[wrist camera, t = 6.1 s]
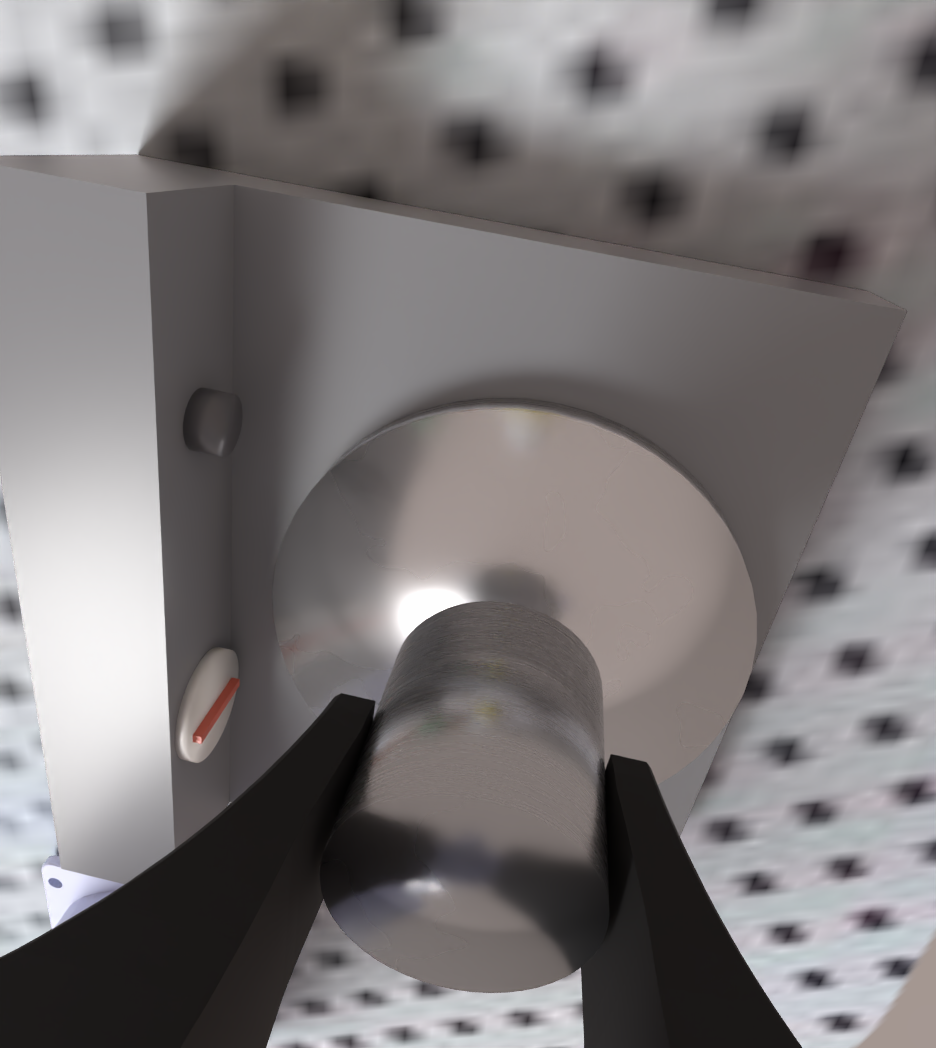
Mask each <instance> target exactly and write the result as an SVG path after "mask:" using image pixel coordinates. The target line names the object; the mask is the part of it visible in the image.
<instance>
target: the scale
mask: <svg viewBox="0 0 936 1048" xmlns="http://www.w3.org/2000/svg"><path fill="white" fill-rule="evenodd" d="M906 313H907V310H905V309H903V308H901V307H899V306H897V305H895V304H893V303H891V302H889V301H887V300H885V299H883V298H881V297H879V296H877V295H875V294H873V293H871V292H869V291H864V290H859V289H854V288H848V287H843V286H838V285H832V284H827V283H821V282H816V281H811V280H805V279H800V278H795V277H789V276H784V275H779V274H773V273H768V272H763V271H757V270H752V269H746V268H741V267H736V266H730V265H725V264H720V263H714V262H709V261H704V260H698V259H693V258H688V257H682V256H677V255H671V254H666V253H661V252H655V251H650V250H645V249H639V248H634V247H629V246H623V245H618V244H613V243H607V242H602V241H596V240H591V239H586V238H580V237H575V236H570V235H564V234H559V233H554V232H548V231H543V230H538V229H532V228H527V227H521V226H516V225H511V224H505V223H500V222H495V221H489V220H484V219H479V218H473V217H468V216H463V215H457V214H452V213H446V212H441V211H436V210H430V209H425V208H420V207H414V206H409V205H404V204H398V203H393V202H388V201H382V200H377V199H372V198H366V197H361V196H355V195H350V194H345V193H339V192H334V191H329V190H323V189H318V188H313V187H307V186H302V185H297V184H291V183H286V182H280V181H275V180H270V179H264V178H259V177H254V176H248V175H243V174H238V173H232V172H227V171H222V170H216V169H211V168H205V167H200V166H195V165H189V164H184V163H179V162H173V161H168V160H163V159H157V158H152V157H147V156H141V155H136V154H135V155H10V156H0V477H1V484H2V490H3V497H4V503H5V510H6V516H7V523H8V529H9V536H10V542H11V549H12V555H13V561H14V568H15V574H16V581H17V587H18V594H19V600H20V607H21V613H22V620H23V626H24V632H25V639H26V645H27V652H28V658H29V665H30V671H31V678H32V684H33V691H34V697H35V703H36V710H37V716H38V723H39V729H40V736H41V742H42V749H43V755H44V762H45V768H46V774H47V781H48V787H49V794H50V800H51V807H52V813H53V820H54V826H55V833H56V839H57V845H58V852H59V858H60V865H61V869H64V870H68V871H72V872H76V873H80V874H84V875H88V876H92V877H96V878H101V879H105V880H109V881H113V882H117V883H121V884H126V883H127V882H129V881H130V880H132V879H133V878H135V877H136V876H137V875H139V874H140V873H142V872H143V871H145V870H146V869H147V868H149V867H150V866H152V865H153V864H155V863H156V862H158V861H159V860H160V859H162V858H163V857H165V856H166V855H167V854H169V853H170V852H171V851H173V850H174V849H175V848H177V847H178V846H179V845H181V844H182V843H183V842H185V841H186V840H187V839H188V838H190V837H191V836H192V835H194V834H195V833H196V832H197V831H199V830H200V829H201V828H202V827H204V826H205V825H206V824H207V823H209V822H210V821H211V820H212V819H213V818H215V817H216V816H217V815H218V814H219V813H221V812H222V811H223V810H224V809H225V808H226V807H227V805H228V803H229V802H233V801H234V800H235V799H236V798H237V797H239V796H240V795H241V794H242V793H243V792H244V791H245V790H246V789H248V788H249V787H250V786H251V785H252V784H253V783H254V782H255V781H256V780H258V779H259V778H260V777H261V776H262V775H263V774H264V773H265V772H266V771H267V770H268V769H269V768H270V767H271V766H272V765H273V764H274V763H275V762H276V761H277V760H278V759H279V758H280V757H281V756H282V755H283V754H284V753H285V752H286V751H287V750H288V749H289V748H290V747H291V746H292V745H293V744H294V743H295V742H296V741H297V740H298V738H299V737H300V736H301V735H302V734H303V733H304V732H305V731H306V730H307V729H308V728H309V727H310V725H311V724H312V723H313V722H314V721H315V720H316V719H317V716H316V715H315V714H314V713H313V711H312V710H311V709H310V707H309V706H308V704H307V703H306V701H305V700H304V698H303V697H302V695H301V693H300V692H299V690H298V689H297V687H296V685H295V683H294V681H293V679H292V677H291V675H290V673H289V671H288V669H287V667H286V664H285V661H284V658H283V655H282V652H281V649H280V646H279V643H278V639H277V634H276V628H275V623H274V617H273V593H272V590H273V582H274V573H275V565H276V562H277V558H278V555H279V551H280V547H281V544H282V540H283V538H284V536H285V534H286V532H287V530H288V527H289V525H290V523H291V521H292V519H293V517H294V515H295V513H296V512H297V510H298V509H299V507H300V506H301V504H302V503H303V501H304V500H305V498H306V497H307V495H308V494H309V493H310V491H311V490H312V489H313V488H314V486H315V485H316V484H317V483H318V481H319V480H320V479H321V478H322V477H323V475H324V474H325V473H326V472H327V471H328V470H329V469H330V468H331V467H332V466H333V465H334V464H335V463H336V461H337V460H338V459H339V458H340V457H341V456H342V455H344V454H345V453H346V452H347V451H349V450H350V449H351V448H352V447H354V446H355V445H356V444H357V443H359V442H360V441H361V440H362V439H364V438H365V437H367V436H368V435H370V434H372V433H374V432H375V431H377V430H379V429H380V428H382V427H384V426H386V425H387V424H389V423H391V422H393V421H396V420H398V419H400V418H403V417H405V416H408V415H410V414H413V413H415V412H418V411H420V410H423V409H427V408H431V407H435V406H439V405H443V404H447V403H451V402H456V401H465V400H473V399H481V398H525V399H532V400H540V401H547V402H554V403H559V404H563V405H567V406H570V407H574V408H578V409H582V410H585V411H589V412H592V413H595V414H597V415H599V416H602V417H604V418H607V419H609V420H612V421H614V422H617V423H619V424H621V425H624V426H625V427H627V428H629V429H631V430H632V431H634V432H636V433H638V434H639V435H641V436H643V437H645V438H646V439H648V440H650V441H652V442H653V443H655V444H656V445H657V446H658V447H660V448H661V449H662V450H664V451H665V452H666V453H668V454H669V455H670V456H672V457H673V458H674V459H676V460H677V461H678V462H679V463H680V464H681V465H682V466H683V467H684V468H685V469H686V470H687V471H688V472H689V473H690V474H691V475H692V476H693V477H694V478H695V479H696V480H697V481H698V482H699V483H700V484H701V485H702V486H703V487H704V489H705V490H706V491H707V493H708V494H709V495H710V497H711V498H712V499H713V501H714V502H715V503H716V505H717V506H718V508H719V509H720V510H721V512H722V514H723V516H724V518H725V519H726V521H727V523H728V525H729V527H730V529H731V531H732V533H733V535H734V537H735V539H736V541H737V544H738V547H739V549H740V552H741V555H742V557H743V560H744V563H745V566H746V569H747V572H748V575H749V578H750V581H751V584H752V588H753V594H754V600H755V606H756V612H757V644H756V650H755V655H754V661H753V666H754V664H755V662H756V659H757V657H758V655H759V652H760V650H761V648H762V645H763V643H764V641H765V638H766V636H767V634H768V632H769V629H770V627H771V625H772V622H773V620H774V618H775V615H776V613H777V611H778V608H779V606H780V604H781V602H782V599H783V597H784V595H785V592H786V590H787V588H788V585H789V583H790V581H791V578H792V576H793V574H794V571H795V569H796V567H797V565H798V562H799V560H800V558H801V555H802V553H803V551H804V548H805V546H806V544H807V541H808V539H809V537H810V534H811V532H812V530H813V528H814V525H815V523H816V521H817V518H818V516H819V514H820V511H821V509H822V507H823V504H824V502H825V500H826V497H827V495H828V493H829V491H830V488H831V486H832V484H833V481H834V479H835V477H836V474H837V472H838V470H839V467H840V465H841V463H842V460H843V458H844V456H845V454H846V451H847V449H848V447H849V444H850V442H851V440H852V437H853V435H854V433H855V430H856V428H857V426H858V424H859V421H860V419H861V417H862V414H863V412H864V410H865V407H866V405H867V403H868V400H869V398H870V396H871V393H872V391H873V389H874V387H875V384H876V382H877V380H878V377H879V375H880V373H881V370H882V368H883V366H884V363H885V361H886V359H887V356H888V354H889V352H890V350H891V347H892V345H893V343H894V340H895V338H896V336H897V333H898V331H899V329H900V326H901V324H902V322H903V319H904V317H905V315H906ZM752 669H753V667H752ZM730 719H731V718H730ZM729 722H730V720H729V721H728V722H727V724H726V725H725V726H724V728H723V729H722V731H721V732H720V733H719V735H718V736H717V737H716V739H715V740H714V741H713V742H712V743H711V744H710V745H709V746H708V747H707V748H706V749H705V750H704V751H703V752H702V753H701V754H700V755H699V756H698V757H697V758H696V759H694V760H693V761H692V762H690V763H689V764H688V765H687V766H685V767H684V768H683V769H681V770H680V771H679V772H677V773H676V774H675V775H673V776H671V777H670V778H668V779H666V780H664V781H663V782H661V783H659V784H658V787H659V790H660V792H661V795H662V797H663V799H664V802H665V804H666V807H667V809H668V811H669V814H670V816H671V818H672V820H673V823H674V825H675V827H676V829H677V832H678V834H679V836H680V835H681V833H682V830H683V828H684V826H685V823H686V821H687V819H688V817H689V814H690V812H691V810H692V807H693V805H694V803H695V800H696V798H697V796H698V793H699V791H700V789H701V786H702V784H703V782H704V780H705V777H706V775H707V773H708V770H709V768H710V766H711V763H712V761H713V759H714V756H715V754H716V752H717V749H718V747H719V745H720V743H721V740H722V738H723V736H724V733H725V731H726V729H727V726H728V724H729Z"/></svg>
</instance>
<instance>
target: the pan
mask: <svg viewBox="0 0 936 1048" xmlns="http://www.w3.org/2000/svg"><path fill="white" fill-rule="evenodd" d="M272 593H273V617H274V623H275V628H276V634H277V639H278V643H279V646H280V649H281V652H282V655H283V658H284V661H285V664H286V667H287V669H288V671H289V673H290V675H291V677H292V679H293V681H294V683H295V685H296V687H297V689H298V690H299V692H300V693H301V695H302V697H303V698H304V700H305V701H306V703H307V704H308V706H309V707H310V709H311V710H312V711H313V713H314V714H315V715H316V716H317V717H318V716H319V715H320V714H321V713H322V712H323V710H324V709H325V708H326V707H327V706H328V704H329V703H330V702H331V700H332V699H333V698H334V697H335V696H337V695H339V694H341V693H343V694H348V695H352V696H357V697H361V698H365V699H370V700H374V701H376V702H375V710H374V716H375V714H376V711H377V708H378V706H379V703H380V700H381V698H382V695H383V692H384V690H385V687H386V684H387V682H388V679H389V676H390V674H391V671H392V668H393V666H394V663H395V660H396V657H397V655H398V653H399V650H400V648H401V646H402V644H403V643H404V641H405V639H406V638H407V636H408V635H409V634H410V633H411V632H412V631H413V630H414V628H415V627H416V626H418V625H419V624H420V623H421V622H423V621H424V620H425V619H427V618H428V617H430V616H432V615H433V614H435V613H437V612H439V611H442V610H444V609H446V608H449V607H452V606H456V605H459V604H463V603H470V602H478V601H498V602H507V603H513V604H518V605H522V606H525V607H529V608H532V609H535V610H537V611H539V612H542V613H544V614H546V615H548V616H550V617H552V618H554V619H555V620H557V621H559V622H560V623H562V624H563V625H564V626H566V627H567V628H568V629H570V630H571V631H572V632H573V633H574V634H575V635H576V636H577V637H578V638H579V639H580V640H581V641H582V642H583V643H584V645H585V646H586V647H587V648H588V650H589V651H590V653H591V655H592V656H593V658H594V660H595V662H596V664H597V667H598V669H599V672H600V676H601V680H602V689H603V716H604V749H605V769H606V766H607V764H608V761H609V758H610V755H611V754H613V755H618V756H622V757H627V758H631V759H636V760H640V761H644V762H647V763H648V764H649V766H650V767H651V769H652V772H653V774H654V777H655V780H656V782H657V785H658V784H659V783H661V782H663V781H664V780H666V779H668V778H670V777H671V776H673V775H675V774H676V773H677V772H679V771H680V770H681V769H683V768H684V767H685V766H687V765H688V764H689V763H690V762H692V761H693V760H694V759H696V758H697V757H698V756H699V755H700V754H701V753H702V752H703V751H704V750H705V749H706V748H707V747H708V746H709V745H710V744H711V743H712V742H713V741H714V740H715V739H716V737H717V736H718V735H719V733H720V732H721V731H722V729H723V728H724V726H725V725H726V724H727V722H728V721H729V720H730V718H731V717H732V715H733V713H734V711H735V709H736V707H737V706H738V704H739V702H740V700H741V698H742V696H743V694H744V691H745V688H746V686H747V683H748V680H749V677H750V674H751V671H752V667H753V661H754V655H755V650H756V644H757V612H756V606H755V600H754V594H753V588H752V584H751V581H750V578H749V575H748V572H747V569H746V566H745V563H744V560H743V557H742V555H741V552H740V549H739V547H738V544H737V541H736V539H735V537H734V535H733V533H732V531H731V529H730V527H729V525H728V523H727V521H726V519H725V518H724V516H723V514H722V512H721V510H720V509H719V508H718V506H717V505H716V503H715V502H714V501H713V499H712V498H711V497H710V495H709V494H708V493H707V491H706V490H705V489H704V487H703V486H702V485H701V484H700V483H699V482H698V481H697V480H696V479H695V478H694V477H693V476H692V475H691V474H690V473H689V472H688V471H687V470H686V469H685V468H684V467H683V466H682V465H681V464H680V463H679V462H678V461H677V460H676V459H674V458H673V457H672V456H670V455H669V454H668V453H666V452H665V451H664V450H662V449H661V448H660V447H658V446H657V445H656V444H655V443H653V442H652V441H650V440H648V439H646V438H645V437H643V436H641V435H639V434H638V433H636V432H634V431H632V430H631V429H629V428H627V427H625V426H624V425H621V424H619V423H617V422H614V421H612V420H609V419H607V418H604V417H602V416H599V415H597V414H595V413H592V412H589V411H585V410H582V409H578V408H574V407H570V406H567V405H563V404H559V403H554V402H547V401H540V400H532V399H525V398H481V399H473V400H465V401H456V402H451V403H447V404H443V405H439V406H435V407H431V408H427V409H423V410H420V411H418V412H415V413H413V414H410V415H408V416H405V417H403V418H400V419H398V420H396V421H393V422H391V423H389V424H387V425H386V426H384V427H382V428H380V429H379V430H377V431H375V432H374V433H372V434H370V435H368V436H367V437H365V438H364V439H362V440H361V441H360V442H359V443H357V444H356V445H355V446H354V447H352V448H351V449H350V450H349V451H347V452H346V453H345V454H344V455H342V456H341V457H340V458H339V459H338V460H337V461H336V463H335V464H334V465H333V466H332V467H331V468H330V469H329V470H328V471H327V472H326V473H325V474H324V475H323V477H322V478H321V479H320V480H319V481H318V483H317V484H316V485H315V486H314V488H313V489H312V490H311V491H310V493H309V494H308V495H307V497H306V498H305V500H304V501H303V503H302V504H301V506H300V507H299V509H298V510H297V512H296V513H295V515H294V517H293V519H292V521H291V523H290V525H289V527H288V530H287V532H286V534H285V536H284V538H283V540H282V544H281V547H280V551H279V555H278V558H277V562H276V565H275V573H274V582H273V590H272ZM373 719H374V718H373Z"/></svg>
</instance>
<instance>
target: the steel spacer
mask: <svg viewBox="0 0 936 1048" xmlns="http://www.w3.org/2000/svg"><path fill="white" fill-rule="evenodd" d="M320 885H321V892H322V895H323V898H324V901H325V904H326V906H327V908H328V909H329V911H330V913H331V915H332V917H333V918H334V920H335V921H336V922H337V924H338V925H339V927H340V928H341V929H342V930H343V931H344V932H345V934H346V935H347V936H348V937H349V938H350V939H351V940H352V941H353V942H354V943H356V944H357V945H358V946H359V947H360V948H361V949H362V950H364V951H365V952H367V953H368V954H369V955H371V956H372V957H374V958H375V959H377V960H378V961H380V962H382V963H383V964H385V965H387V966H388V967H390V968H392V969H394V970H396V971H398V972H401V973H403V974H405V975H407V976H410V977H412V978H415V979H418V980H420V981H423V982H427V983H430V984H433V985H437V986H441V987H445V988H450V989H455V990H462V991H469V992H483V993H503V992H514V991H523V990H528V989H532V988H537V987H541V986H544V985H547V984H550V983H553V982H555V981H558V980H560V979H562V978H564V977H566V976H568V975H570V974H571V973H573V972H575V971H576V970H578V969H579V968H580V967H582V966H583V965H584V964H585V963H586V962H587V961H589V960H590V959H591V957H592V956H593V955H594V954H595V953H596V951H597V950H598V949H599V947H600V945H601V943H602V941H603V940H604V937H605V934H606V931H607V928H608V922H609V884H608V850H607V817H606V783H605V749H604V716H603V689H602V680H601V676H600V672H599V669H598V667H597V664H596V662H595V660H594V658H593V656H592V655H591V653H590V651H589V650H588V648H587V647H586V646H585V645H584V643H583V642H582V641H581V640H580V639H579V638H578V637H577V636H576V635H575V634H574V633H573V632H572V631H571V630H570V629H568V628H567V627H566V626H564V625H563V624H562V623H560V622H559V621H557V620H555V619H554V618H552V617H550V616H548V615H546V614H544V613H542V612H539V611H537V610H535V609H532V608H529V607H525V606H522V605H518V604H513V603H507V602H498V601H478V602H470V603H463V604H459V605H456V606H452V607H449V608H446V609H444V610H442V611H439V612H437V613H435V614H433V615H432V616H430V617H428V618H427V619H425V620H424V621H423V622H421V623H420V624H419V625H418V626H416V627H415V628H414V630H413V631H412V632H411V633H410V634H409V635H408V636H407V638H406V639H405V641H404V643H403V644H402V646H401V648H400V650H399V653H398V655H397V657H396V660H395V663H394V666H393V668H392V671H391V674H390V676H389V679H388V682H387V684H386V687H385V690H384V692H383V695H382V698H381V700H380V703H379V706H378V708H377V711H376V714H375V716H374V719H373V722H372V724H371V727H370V730H369V732H368V735H367V738H366V740H365V743H364V746H363V748H362V751H361V754H360V756H359V759H358V762H357V764H356V767H355V770H354V772H353V775H352V778H351V780H350V783H349V786H348V789H347V791H346V794H345V797H344V799H343V802H342V805H341V807H340V810H339V813H338V815H337V818H336V821H335V823H334V826H333V829H332V831H331V834H330V837H329V839H328V842H327V845H326V847H325V850H324V853H323V856H322V860H321V864H320Z"/></svg>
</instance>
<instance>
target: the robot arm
mask: <svg viewBox="0 0 936 1048" xmlns="http://www.w3.org/2000/svg"><path fill="white" fill-rule="evenodd" d="M375 702H376V701H374V700H370V699H365V698H361V697H357V696H352V695H348V694H343V693H341V694H339V695H337V696H335V697H334V698H333V699H332V700H331V702H330V703H329V704H328V706H327V707H326V708H325V709H324V710H323V712H322V713H321V714H320V715H319V716H318V717H317V719H316V720H315V721H314V722H313V723H312V724H311V725H310V727H309V728H308V729H307V730H306V731H305V732H304V733H303V734H302V735H301V736H300V737H299V738H298V740H297V741H296V742H295V743H294V744H293V745H292V746H291V747H290V748H289V749H288V750H287V751H286V752H285V753H284V754H283V755H282V756H281V757H280V758H279V759H278V760H277V761H276V762H275V763H274V764H273V765H272V766H271V767H270V768H269V769H268V770H267V771H266V772H265V773H264V774H263V775H262V776H261V777H260V778H259V779H258V780H256V781H255V782H254V783H253V784H252V785H251V786H250V787H249V788H248V789H246V790H245V791H244V792H243V793H242V794H241V795H240V796H239V797H237V798H236V799H235V800H234V801H233V802H232V803H231V804H230V805H228V806H227V807H226V808H225V809H224V810H223V811H222V812H221V813H219V814H218V815H217V816H216V817H215V818H213V819H212V820H211V821H210V822H209V823H207V824H206V825H205V826H204V827H202V828H201V829H200V830H199V831H197V832H196V833H195V834H194V835H192V836H191V837H190V838H188V839H187V840H186V841H185V842H183V843H182V844H181V845H179V846H178V847H177V848H175V849H174V850H173V851H171V852H170V853H169V854H167V855H166V856H165V857H163V858H162V859H160V860H159V861H158V862H156V863H155V864H153V865H152V866H150V867H149V868H147V869H146V870H145V871H143V872H142V873H140V874H139V875H137V876H136V877H135V878H133V879H132V880H130V881H129V882H127V883H126V884H121V883H117V882H113V881H109V880H105V879H101V878H96V877H92V876H88V875H84V874H80V873H76V872H72V871H68V870H64V869H61V865H60V858H59V856H56V855H55V856H50V857H49V858H48V859H47V860H46V861H45V863H44V864H43V865H42V868H41V870H42V876H43V882H44V887H45V893H46V899H47V905H48V910H49V916H50V922H51V928H52V929H51V930H49V931H48V932H46V933H44V934H43V935H41V936H39V937H38V938H36V939H34V940H32V941H30V942H29V943H27V944H25V945H23V946H21V947H20V948H18V949H16V950H14V951H12V952H10V953H8V954H6V955H4V956H2V957H0V1048H266V1046H267V1043H268V1040H269V1037H270V1034H271V1031H272V1028H273V1025H274V1022H275V1019H276V1015H277V1012H278V1009H279V1006H280V1003H281V1000H282V997H283V995H284V992H285V990H286V987H287V984H288V982H289V979H290V977H291V974H292V971H293V969H294V966H295V964H296V962H297V959H298V957H299V955H300V952H301V950H302V948H303V945H304V943H305V941H306V938H307V936H308V934H309V931H310V929H311V927H312V924H313V922H314V920H315V917H316V915H317V913H318V910H319V908H320V906H321V903H322V901H323V899H324V898H323V895H322V892H321V885H320V864H321V860H322V856H323V853H324V850H325V847H326V845H327V842H328V839H329V837H330V834H331V831H332V829H333V826H334V823H335V821H336V818H337V815H338V813H339V810H340V807H341V805H342V802H343V799H344V797H345V794H346V791H347V789H348V786H349V783H350V780H351V778H352V775H353V772H354V770H355V767H356V764H357V762H358V759H359V756H360V754H361V751H362V748H363V746H364V743H365V740H366V738H367V735H368V732H369V730H370V727H371V724H372V722H373V718H374V710H375ZM605 783H606V817H607V850H608V884H609V922H608V928H607V931H606V934H605V937H604V940H603V941H602V943H601V945H600V947H599V949H598V950H597V951H596V953H595V954H594V955H593V956H592V957H591V959H590V960H589V961H587V962H586V963H585V964H584V965H583V966H582V967H581V976H582V1000H583V1023H584V1048H802V1047H801V1045H800V1044H799V1042H798V1041H797V1040H796V1038H795V1037H794V1035H793V1034H792V1032H791V1031H790V1029H789V1028H788V1026H787V1025H786V1023H785V1022H784V1021H783V1019H782V1018H781V1016H780V1015H779V1013H778V1012H777V1010H776V1009H775V1007H774V1006H773V1004H772V1003H771V1001H770V1000H769V998H768V997H767V995H766V993H765V992H764V990H763V989H762V987H761V986H760V984H759V982H758V981H757V979H756V978H755V976H754V975H753V973H752V971H751V970H750V968H749V966H748V965H747V963H746V962H745V960H744V958H743V957H742V955H741V953H740V951H739V950H738V948H737V946H736V945H735V943H734V941H733V939H732V938H731V936H730V934H729V932H728V930H727V929H726V927H725V925H724V923H723V922H722V920H721V918H720V916H719V914H718V913H717V911H716V909H715V907H714V905H713V903H712V901H711V899H710V897H709V896H708V894H707V892H706V890H705V888H704V886H703V884H702V882H701V880H700V878H699V876H698V874H697V872H696V870H695V868H694V866H693V864H692V862H691V859H690V857H689V855H688V853H687V851H686V849H685V847H684V845H683V843H682V841H681V838H680V836H679V834H678V832H677V829H676V827H675V825H674V823H673V820H672V818H671V816H670V814H669V811H668V809H667V807H666V804H665V802H664V799H663V797H662V795H661V792H660V790H659V787H658V785H657V782H656V780H655V777H654V774H653V772H652V769H651V767H650V766H649V764H648V763H647V762H644V761H640V760H636V759H631V758H627V757H622V756H618V755H613V754H611V755H610V758H609V761H608V764H607V766H606V769H605Z"/></svg>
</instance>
